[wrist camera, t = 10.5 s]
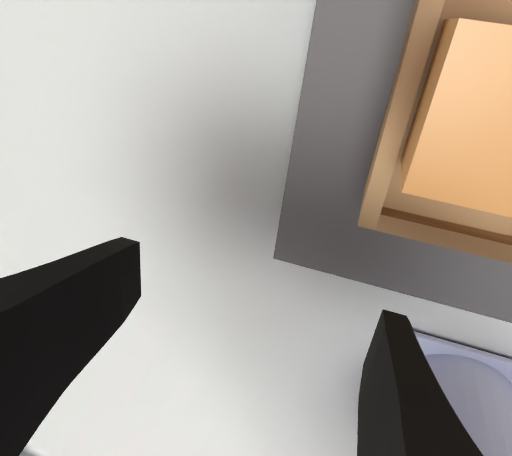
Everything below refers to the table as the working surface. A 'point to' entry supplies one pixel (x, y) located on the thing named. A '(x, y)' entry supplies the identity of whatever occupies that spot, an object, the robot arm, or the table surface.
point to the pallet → (395, 135)
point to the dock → (365, 169)
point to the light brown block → (464, 120)
